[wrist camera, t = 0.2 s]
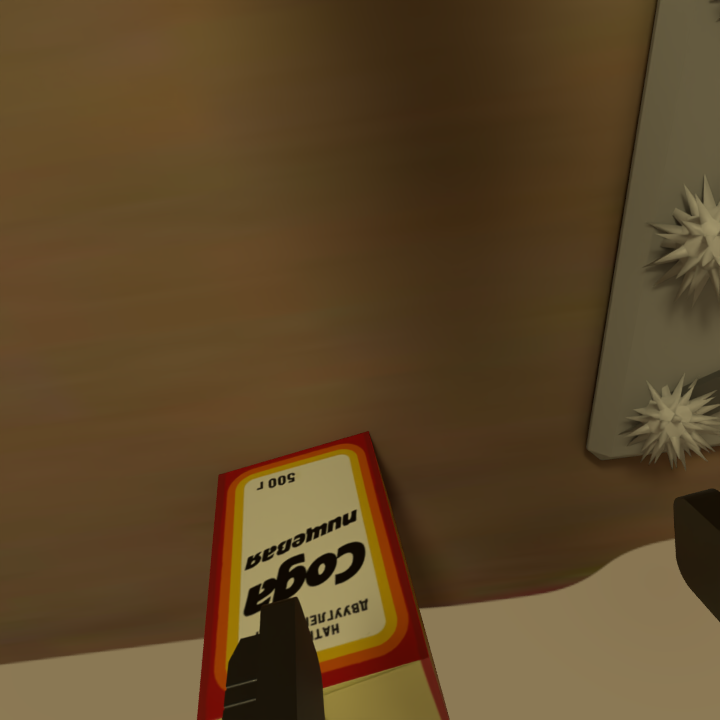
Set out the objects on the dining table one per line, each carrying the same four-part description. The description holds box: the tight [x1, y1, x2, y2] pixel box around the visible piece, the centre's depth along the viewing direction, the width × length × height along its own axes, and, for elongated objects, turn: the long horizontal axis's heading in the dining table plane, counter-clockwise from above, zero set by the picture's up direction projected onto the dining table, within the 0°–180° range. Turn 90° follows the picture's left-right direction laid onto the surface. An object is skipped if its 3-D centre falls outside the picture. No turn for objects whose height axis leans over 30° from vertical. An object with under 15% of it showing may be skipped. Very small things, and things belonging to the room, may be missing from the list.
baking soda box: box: [197, 431, 449, 720], centre depth 33 cm, size 10×6×16 cm
